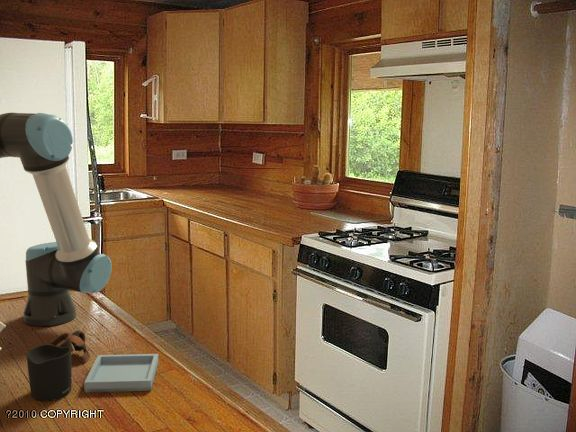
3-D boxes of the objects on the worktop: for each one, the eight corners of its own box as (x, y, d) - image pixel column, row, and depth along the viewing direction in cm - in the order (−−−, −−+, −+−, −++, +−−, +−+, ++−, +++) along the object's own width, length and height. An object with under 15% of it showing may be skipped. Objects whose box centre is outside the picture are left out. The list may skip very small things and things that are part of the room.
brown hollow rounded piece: (85, 370, 150) (65, 346, 147) (55, 382, 153) (35, 358, 150) (101, 340, 161) (83, 317, 158) (73, 352, 163) (55, 329, 161)
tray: (98, 364, 152) (98, 355, 152) (158, 362, 154) (158, 353, 153) (84, 392, 138) (84, 382, 137) (151, 390, 139) (150, 380, 139)
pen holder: (35, 406, 131) (32, 364, 129) (24, 390, 139) (22, 349, 137) (78, 395, 137) (76, 354, 135) (66, 379, 144) (64, 340, 142)
